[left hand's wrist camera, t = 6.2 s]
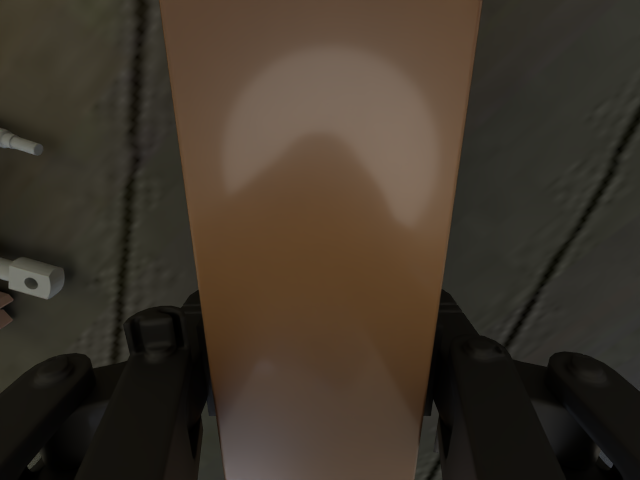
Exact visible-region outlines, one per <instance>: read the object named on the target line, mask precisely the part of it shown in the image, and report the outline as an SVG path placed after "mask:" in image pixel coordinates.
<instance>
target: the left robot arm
mask: <svg viewBox="0 0 640 480" xmlns="http://www.w3.org/2000/svg"><path fill="white" fill-rule="evenodd" d="M123 326H124V330H125V335H126V339H127V343H128V348H129V352H130V356H129V359H128V361H125V362H121V363H118V364H113V365H108V366H103V367H98V368H93V367H92V364H91V360H90V358H88V357H87V356H86V355H84V354H78V353H72V354H63V355H59V356H55V357H52V358H49V359H47V360H45V361H43V362H41V363H39V364H37V365H35V366H34V367H32V368H31V369H29V370H28V371H27V372H25V373H24V374H23V375H22V376H20V377H19V378H18V379H17V380H16V381H15V382H13V383H12V384H11V385H10V386H9V387H8V388H6V389H5V390H4V391H3V392H2V393H1V394H0V480H197V479H198V470H199V461H200V452H201V444H202V435H203V426H202V419H201V413H202V411H203V408H204V406H205V403H206V401H207V405H208V412H209V416H216V412H215V405H214V397H213V390H212V383H211V375H210V368H209V361H208V354H207V346H206V339H205V332H204V324H203V317H202V310H201V303H200V295H199V290H198V291H196V292H194V293H193V294H191V295H190V296H189V297H188V299H187V300H186V302H185V303H184V304H183V306H182V307H181V308H178V307H174V306H158V307H153V308H148V309H146V310H143V311H140V312H138V313H136V314H135V315H133V316H131V317H130V318H128V320H127V321H126V322H125V323H124V324H123ZM433 399H434V402H435V404H436V407H437V410H438V412H439V419H438V425H437V432H436V438H435V445H434V452H436V453H438V451H439V452H440V460H441V469H442V478H443V480H640V391H638V390H637V389H636V388H635V387H634V386H633V385H631V384H630V383H629V382H628V381H627V380H625V379H624V378H623V377H622V376H621V375H620V374H618V373H617V372H616V371H615V370H613V369H612V368H610V367H609V366H607V365H606V364H605V363H603V362H601V361H598V360H596V359H594V358H592V357H590V356H587V355H583V354H580V353H574V352H559V353H555V354H553V355H552V356H551V357H550V359H549V363H548V366H547V367H544V366H539V365H535V364H530V363H525V362H520V361H517V360H513V359H512V358H511V356H510V354H509V353H508V351H507V350H506V349H505V347H503V346H502V345H501V344H499V343H498V342H496V341H494V340H492V339H490V338H487V337H485V336H480V335H479V334H478V333H477V331H476V330H475V329H474V327H473V326H472V324H471V323H470V322H469V320H468V319H467V317H466V316H465V315H464V313H462V310H461V309H460V308H459V306H458V305H457V304H456V302H455V301H454V299H453V298H452V296H451V295H450V294H449V293H447V292H446V291H444V290H443V289H441V296H440V303H439V310H438V317H437V324H436V331H435V338H434V345H433V352H432V359H431V366H430V373H429V380H428V387H427V394H426V401H425V408H424V415H423V416H431V410H432V403H433ZM601 450H602V451H603V452H604V454H605V455H606V456H607V457H608V458H609V459H610V461H611V462H612V463H613V466H612V468H609V467H608V466H607V465H606V464H605V463H604V462H603V460H602V459H601V458H600V457H599V453H600V451H601ZM38 452H40V454H41V459H40V460H39V461H38V462H37V463H36V464H35V465H34V466H33V467H32V468H31V469H30V470H29V469H28V467H27V465H28V464H29V463H30V462H31V461H32V459H33V458H34V457H35V456H36V455H37V453H38Z"/></svg>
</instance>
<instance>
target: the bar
mask: <svg viewBox="0 0 640 480" xmlns="http://www.w3.org/2000/svg"><path fill="white" fill-rule="evenodd" d="M482 2H483V0H159V4H160V11H161V18H162V26H163V33H164V40H165V47H166V55H167V62H168V69H169V77H170V84H171V91H172V98H173V106H174V113H175V120H176V128H177V135H178V142H179V150H180V157H181V164H182V171H183V179H184V186H185V193H186V201H187V208H188V215H189V222H190V230H191V237H192V244H193V252H194V259H195V266H196V273H197V281H198V288H199V295H200V303H201V310H202V317H203V324H204V332H205V339H206V346H207V354H208V361H209V368H210V375H211V383H212V390H213V397H214V405H215V412H216V419H217V427H218V434H219V441H220V448H221V456H222V463H223V470H224V478H225V480H414V478H415V471H416V464H417V457H418V450H419V443H420V436H421V429H422V422H423V415H424V408H425V401H426V394H427V387H428V380H429V373H430V366H431V359H432V352H433V345H434V338H435V331H436V324H437V317H438V310H439V303H440V296H441V289H442V282H443V275H444V268H445V261H446V254H447V247H448V240H449V233H450V226H451V219H452V212H453V205H454V198H455V191H456V184H457V177H458V170H459V163H460V156H461V149H462V142H463V135H464V128H465V121H466V114H467V107H468V100H469V93H470V86H471V79H472V72H473V65H474V58H475V51H476V44H477V37H478V30H479V23H480V16H481V9H482Z"/></svg>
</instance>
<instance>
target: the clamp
mask: <svg viewBox="0 0 640 480" xmlns="http://www.w3.org/2000/svg"><path fill="white" fill-rule="evenodd" d="M0 147H2V148H11V149H18V150H21V151H24V152H28V153H31V154H34V155H37V156H39V155H41V154H42V152H43V146H42V145H41V144H39V143H36V142H32V141H29V140H26V139H23V138H20V137H19V136H18V135H15V134H12V133H11V132H10V131H8V130H5V129H2V128H0ZM0 279H3V280H6V281H9V289H12V290H16V291H19V292H23V293H26V294H30V295H34V296H37V297H41V298H44V299H50V298H51V297H53V296H54V295H56V294H57V293H58V292H59V291H60V290H61V289H62V287H63V285H64V279H65V276H64V270H63V268H60V267H57V266H54V265H50V264H47V263H43V262H40V261H36V260H33V259H30V258H26V257H20V258H18V259H16V260H14V261H12V260H9V259H5V258H2V257H0ZM12 301H13V298H12V297H11V296H10V295H9V294H6V293H3V292H0V329H1V328H3V327H4V326H6V325H7V324H9V323H10V322H12V321H13V319H12V318H11V317H10V316H9V315H8V314H7V313H6V312H5V311H4V310H3V309H1V308H2V307H4V306H5V305H7V304H9V303H10V302H12Z"/></svg>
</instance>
